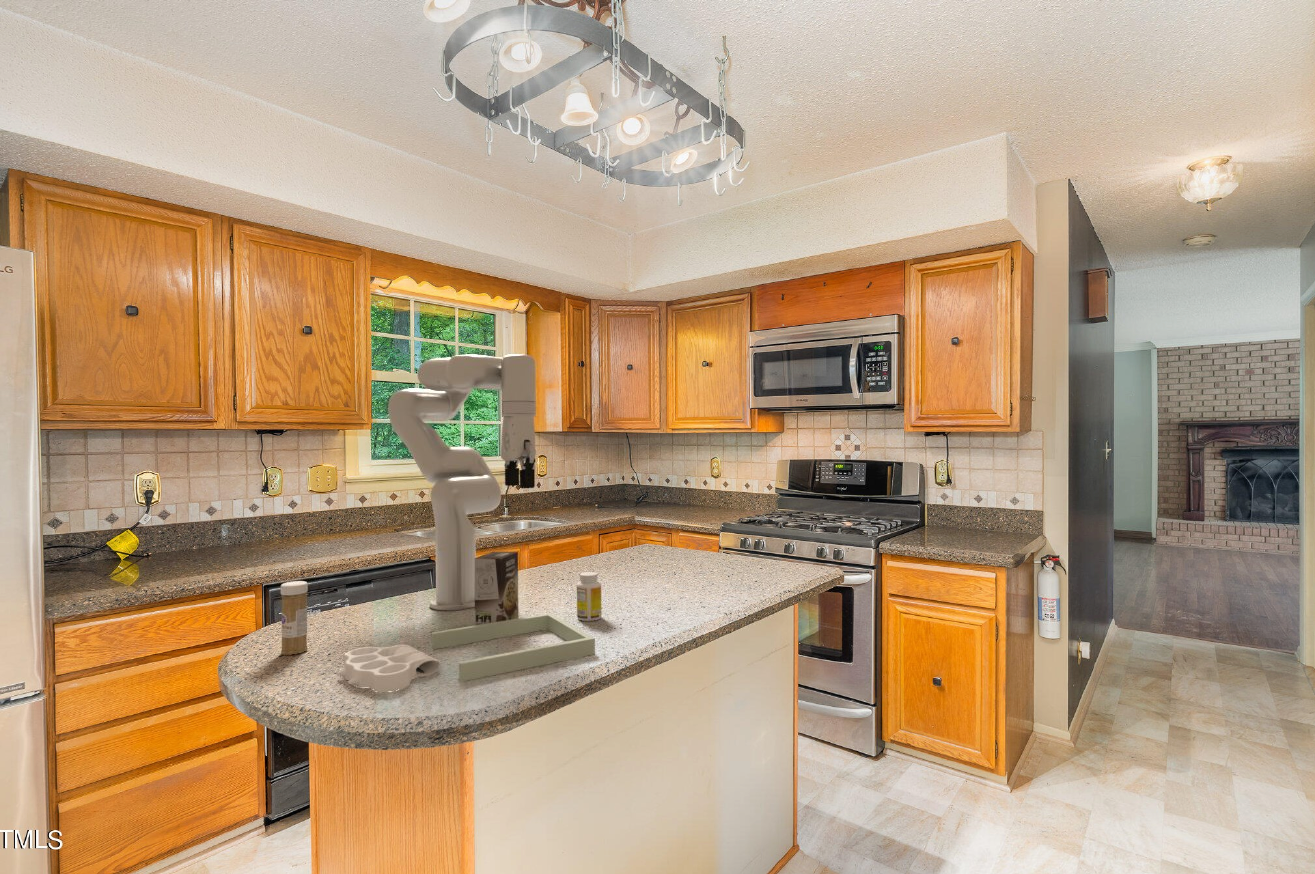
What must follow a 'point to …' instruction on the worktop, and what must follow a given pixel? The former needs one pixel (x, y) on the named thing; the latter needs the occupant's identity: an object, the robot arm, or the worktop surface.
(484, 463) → the robot arm
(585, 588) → the supplement bottle
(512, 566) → the coffee box
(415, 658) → the white brass knuckles
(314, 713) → the worktop surface
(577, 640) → the green rectangular frame
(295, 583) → the sprinkles bottle
